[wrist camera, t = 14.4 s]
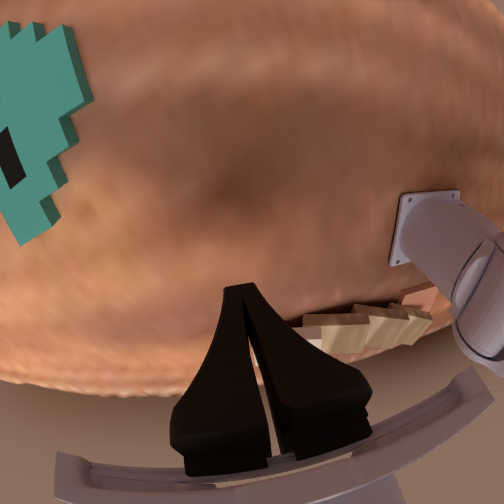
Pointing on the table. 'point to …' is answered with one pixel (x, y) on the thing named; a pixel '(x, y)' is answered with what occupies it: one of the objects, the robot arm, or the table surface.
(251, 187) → the table surface
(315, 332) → the white domino
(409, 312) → the domino
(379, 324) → the domino
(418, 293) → the domino
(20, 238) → the alien figure
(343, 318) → the domino
